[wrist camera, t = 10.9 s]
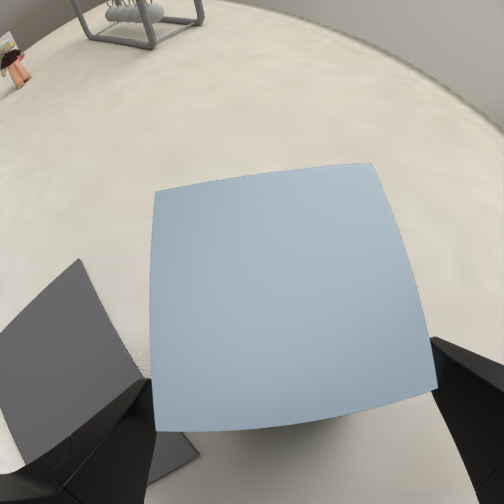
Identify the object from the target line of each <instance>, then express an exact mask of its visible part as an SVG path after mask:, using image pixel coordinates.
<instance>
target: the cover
mask: <svg viewBox="0 0 504 504" xmlns="http://www.w3.org/2000/svg"><path fill="white" fill-rule="evenodd" d="M150 356H151V376H152V392H153V405H154V416H155V426H156V431H168V432H209V431H232V430H247V429H258V428H268V427H277V426H285V425H292V424H299V423H305V422H311V421H317V420H323V419H328V418H333V417H338V416H343V415H347V414H352V413H356V412H360V411H365V410H369V409H372V408H376V407H380V406H384V405H387V404H391V403H394V402H398V401H401V400H404V399H407V398H411V397H414V396H417V395H420V394H423V393H426V392H428V391H431V390H434V389H437V388H438V384H437V378H436V371H435V366H434V360H433V354H432V349H431V344H430V339H429V335H428V330H427V325H426V321H425V317H424V313H423V309H422V305H421V301H420V297H419V293H418V290H417V286H416V282H415V279H414V275H413V272H412V269H411V265H410V262H409V259H408V256H407V253H406V250H405V247H404V244H403V241H402V238H401V235H400V232H399V229H398V226H397V223H396V221H395V218H394V215H393V213H392V210H391V207H390V205H389V202H388V200H387V197H386V195H385V192H384V190H383V187H382V185H381V182H380V180H379V178H378V175H377V173H376V171H375V168H374V166H373V164H372V162H370V163H356V164H343V165H332V166H322V167H312V168H303V169H294V170H286V171H278V172H270V173H263V174H255V175H248V176H242V177H235V178H229V179H222V180H216V181H210V182H205V183H199V184H193V185H188V186H182V187H177V188H172V189H167V190H162V191H157V192H155V198H154V209H153V223H152V239H151V260H150Z"/></svg>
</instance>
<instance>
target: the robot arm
mask: <svg viewBox="0 0 504 504" xmlns="http://www.w3.org/2000/svg"><path fill="white" fill-rule="evenodd" d="M429 339H430V344H431V349H432V354H433V360H434V366H435V371H436V378H437V384H438V388H437V389H434V390H431V392H432V395H433V397H434V400H435V402H436V404H437V406H438V408H439V410H440V412H441V414H442V416H443V418H444V420H445V422H446V425H447V427H448V429H449V431H450V433H451V435H452V437H453V440H454V442H455V444H456V446H457V449H458V451H459V453H460V455H461V458H462V460H463V462H464V465H465V467H466V470H467V472H468V475H469V477H470V480H471V482H472V485H473V487H474V490H475V492H476V496H477V498H478V501H479V504H504V365H502V364H499V363H497V362H495V361H492V360H490V359H487V358H485V357H483V356H480V355H478V354H476V353H473V352H471V351H469V350H466V349H464V348H462V347H459V346H457V345H455V344H452V343H450V342H448V341H445V340H443V339H441V338H438V337H431V338H429ZM156 438H157V431H156V426H155V416H154V405H153V392H152V380H151V379H150V378H140V379H138V380H137V381H135V382H134V383H133V384H132V385H131V386H129V387H128V388H127V389H126V390H124V391H123V392H122V393H121V394H120V395H118V396H117V397H116V398H115V399H114V400H112V401H111V402H110V403H109V404H107V405H106V406H105V407H104V408H103V409H101V410H100V411H99V412H98V413H96V414H95V415H94V416H93V417H91V418H90V419H89V420H88V421H86V422H85V423H84V424H83V425H81V426H80V427H79V428H78V429H76V430H75V431H74V432H73V433H71V435H70V436H68V437H66V438H65V439H64V440H63V441H61V442H60V443H59V444H57V445H56V446H55V447H53V448H52V449H50V450H49V451H47V452H46V453H44V454H43V455H41V456H40V457H38V458H37V459H35V460H33V461H32V462H30V463H29V464H27V465H25V466H24V467H22V468H20V469H19V470H17V471H15V472H12V473H9V474H0V504H144V498H145V493H146V488H147V483H148V478H149V473H150V468H151V463H152V458H153V453H154V448H155V444H156Z"/></svg>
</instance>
